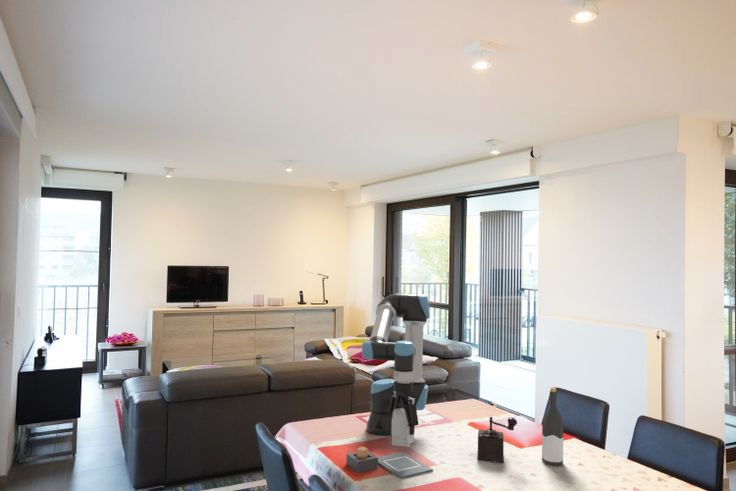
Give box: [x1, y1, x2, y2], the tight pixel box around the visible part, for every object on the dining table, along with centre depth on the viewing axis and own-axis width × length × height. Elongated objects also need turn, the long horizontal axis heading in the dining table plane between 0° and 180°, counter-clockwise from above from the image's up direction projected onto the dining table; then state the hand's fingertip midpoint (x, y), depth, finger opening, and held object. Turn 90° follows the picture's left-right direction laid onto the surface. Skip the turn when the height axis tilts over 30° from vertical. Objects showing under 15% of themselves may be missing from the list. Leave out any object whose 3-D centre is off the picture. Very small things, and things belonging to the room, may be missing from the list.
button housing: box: [345, 450, 379, 473], centre depth 201 cm, size 9×9×4 cm
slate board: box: [377, 451, 434, 480], centre depth 203 cm, size 20×15×1 cm
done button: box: [356, 446, 369, 459], centre depth 201 cm, size 4×4×4 cm
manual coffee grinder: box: [476, 416, 518, 463], centre depth 213 cm, size 16×11×18 cm
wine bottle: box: [541, 386, 564, 467], centre depth 209 cm, size 8×8×30 cm
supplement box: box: [391, 408, 412, 448], centre depth 203 cm, size 7×7×13 cm
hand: (402, 438), depth 203 cm, fingers closed on supplement box, 10 cm apart
